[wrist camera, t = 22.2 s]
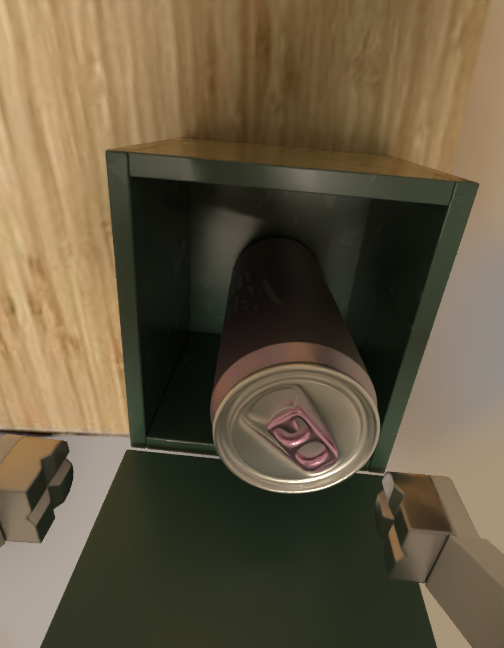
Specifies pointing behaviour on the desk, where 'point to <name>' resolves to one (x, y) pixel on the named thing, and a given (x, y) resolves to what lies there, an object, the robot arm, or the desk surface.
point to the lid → (234, 566)
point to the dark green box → (259, 224)
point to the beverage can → (289, 377)
